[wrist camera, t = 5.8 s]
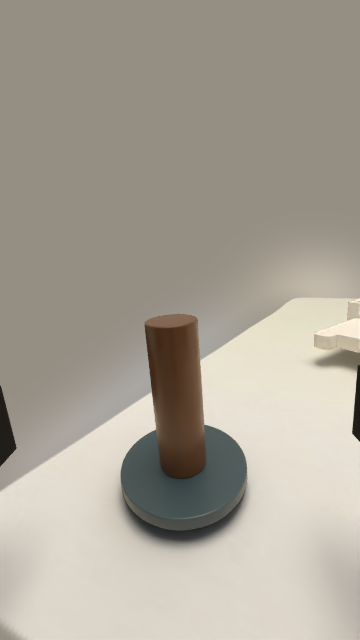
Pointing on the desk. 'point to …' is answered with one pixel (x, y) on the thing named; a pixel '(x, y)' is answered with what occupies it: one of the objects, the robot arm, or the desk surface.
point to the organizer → (342, 332)
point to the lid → (181, 440)
